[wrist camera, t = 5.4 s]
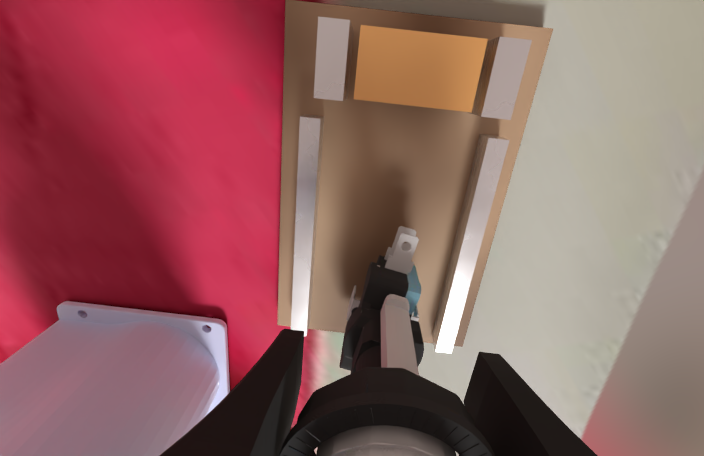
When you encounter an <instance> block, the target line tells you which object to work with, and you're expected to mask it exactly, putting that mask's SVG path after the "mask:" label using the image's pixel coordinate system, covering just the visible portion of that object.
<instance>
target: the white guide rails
mask: <svg viewBox="0 0 704 456" xmlns="http://www.w3.org/2000/svg"><path fill="white" fill-rule="evenodd" d="M353 36H354V30H353V27H352V24H351V21H350V20H346V19H337V18H328V17H319V16H318V29H317V47H316V65H315V82H314V98H319V99H328V100H337V101H344V100H346V99H347V98H348V90H349V79H350V68H351V57H352V46H353ZM531 42H532V40H527V39H518V38H509V37H497V38H495V39H492V40H489V41H487V46H486V50H485V54H484V59H483V63H482V68H481V72H480V77H479V81H478V86H477V90H476V94H475V99H474V103H473V108H472V112H467V113H470V114H474V115H477V116H480V117H488V118H497V119H506V120H511V117H512V113H513V109H514V106H515V102H516V98H517V94H518V91H519V87H520V83H521V79H522V76H523V72H524V68H525V64H526V61H527V57H528V53H529V50H530V46H531ZM323 129H324V116H318V115H309V114H304V115H302V116H300V126H299V149H298V173H297V196H296V219H295V242H294V266H293V289H292V312H291V330H299V331H304V336H307V332H308V328H309V324H310V318H311V303H312V289H313V274H314V260H315V245H316V231H317V216H318V202H319V187H320V173H321V158H322V144H323ZM508 144H509V140H508V139H505V138H503V137H501V136H496V135H487V134H480V135H479V139H478V143H477V147H476V152H475V156H474V160H473V164H472V168H471V173H470V177H469V181H468V185H467V189H466V194H465V198H464V202H463V206H462V210H461V214H460V219H459V223H458V227H457V231H456V235H455V240H454V244H453V248H452V252H451V256H450V261H449V265H448V269H447V273H446V277H445V281H444V286H443V290H442V294H441V298H440V302H439V307H438V311H437V315H436V319H435V323H434V328H433V332H432V339H433V343H434V348H435V351H436V352H444V353H452V349H453V346H454V342H455V338H456V335H457V331H458V327H459V324H460V320H461V316H462V313H463V309H464V305H465V302H466V298H467V294H468V291H469V287H470V283H471V280H472V276H473V272H474V269H475V265H476V261H477V258H478V254H479V250H480V247H481V243H482V239H483V236H484V232H485V228H486V225H487V221H488V217H489V214H490V210H491V206H492V203H493V199H494V195H495V192H496V188H497V184H498V181H499V177H500V173H501V170H502V166H503V162H504V159H505V155H506V151H507V148H508Z"/></svg>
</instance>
